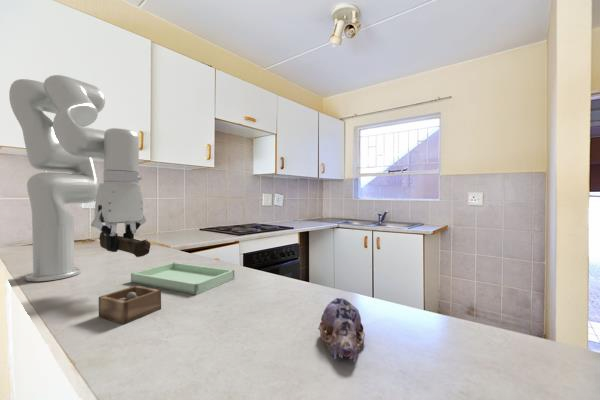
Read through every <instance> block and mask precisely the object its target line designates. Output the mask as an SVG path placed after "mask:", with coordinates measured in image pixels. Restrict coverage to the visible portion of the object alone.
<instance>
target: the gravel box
mask: <svg viewBox="0 0 600 400" xmlns="http://www.w3.org/2000/svg"><path fill="white" fill-rule="evenodd" d="M159 310H162V290H160V289H156V288H151V287H148V286H147V287H146V286H140V285H134V286H130V287H127V288H123V289H120V290H117V291H114V292H110V293H107V294H104V295H100V296H98V318H102V319H105V320H108V321H113V322H115V323H119V324H122V325H126V324H128V323H130V322H131V323H132V322H133V321H136V320H138V319H140V318H143V317H146V316H148V315H149V314H152V313H154V312H157V311H159Z"/></svg>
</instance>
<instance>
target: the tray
mask: <svg viewBox="0 0 600 400" xmlns="http://www.w3.org/2000/svg"><path fill="white" fill-rule="evenodd" d="M234 279H235V270H234V269H226V268H221V267H219V268H218V267H214V266H213V267H212V266H204V265H199V264H198V265H197V264H191V263H190V264H189V263H183V262H182V263H181V262H174V261H173V262H169V263H166V264H162V265H158V266H154V267H150V268H147V269H143V270H140V271H135V272H130V282H131V283H133V284H134V283H135V284H138V285H144V286H147V287H148V286H149V287H153V288H159V289H165V290H170V291H176V292H180V293H185V294H186V293H187V294H190V295H199V294H201V293H205V292H207V291H208V290H211V289H213V288H216V287H218V286H221V285H223V284H225V282H226V283H228V282H230V281H232V280H234Z"/></svg>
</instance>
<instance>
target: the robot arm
mask: <svg viewBox="0 0 600 400" xmlns="http://www.w3.org/2000/svg"><path fill="white" fill-rule="evenodd" d="M9 87H10V88H9V91H8V93H9V97H8V98H9V99H8V100H9V104H10V108H11V110H12V112H13V114H14V116H15V118H16V120H17V122H18V123H19V125H20V128H21V130H22V134H23V135H22V136H23V140H24V146H25V149H26V154H27V158H28V162H29V164H30V166H31V167H32V168H34V169H36V170H38V171H44V172H39V173H35V174H33V175H31V176H30V177H29V178H28V180H27V183H26V188H27V189H26V190H27V195H28V198H29V202H30V208H31V224H32V225H31V226H32V228H31V230H32V272H31V273H28V274H27V275H26V276H25V280H26V281H28V282H48V281H57V280H61V279H66V278H70V277H71V278H72V277H73V276H77V275H79V274H81V268H80V267H79V266H75V225H74V224H75V223H74V217H73V213H72V212H71V211H70V210H69V209H68V208H67V207H66V205H68V204H89V203H93V202H94V203H95V205H94V219H93V220H92V221H91V224H90V227H93V228H95V229H97V230H99V231H100V232H103V233H104V235H107V237H106V247H107V250H106V251H108V252H110V253H116V252H118V251H119V250H118V236H119V235H118V236H115V234H116V233H117V227H118V224H124V233H123V234H122V237H124V238H129V239H135V234H136V233H137V230H138V229H139V228H140V227H141V226H143V225H144V224H145V223H146V222H147V218H146V217H145V215H144V199H143V198H144V197H143V192H142V187H141V184H139V181H142V180H143V176H142V175H139V165H140V164H139V157H140V154H139V152H140V139H139V138H140V137H139V135H138V133H137V132H136V131H134V130H130V129H125V128H117V127H116V128H115V127H113V128H108V129H106V130H102V129H96V128H93V127H91V128H90V127H88V126H91V125H92V124H93V123H95V122H96V120H97V118H98V115H99V113H100V112H101V111H102V110H104V108H105V103H106V99H105V95H104V93H103V92H102V90H101V89H100V88H98V87H97V86H96V85H93V84H90V83H87V82H85V81H82V80H78V79H76V78H72V77H70V76H66V75H63V74H62V75H61V74H53V75H50V76H48V77H47V78H45V80H44V81H43V82H41V81H38V80H34V79H28V78H27V79H26V78H21V79H16V80H14V81H13V82H12V83H11V84H10V86H9ZM44 112H47V113H51V114H55V116H54V118H53V120H52V119H51V118H50V117H49V116H47V115H46V114H45V113H44ZM93 159H99V160H103V182H102V183H101V182H99V181H98V176H97V172H96V168H95V163H94V160H93ZM45 171H46V172H45ZM65 204H66V205H65ZM103 223H104V224H103Z"/></svg>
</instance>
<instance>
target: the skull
mask: <svg viewBox="0 0 600 400" xmlns="http://www.w3.org/2000/svg"><path fill="white" fill-rule="evenodd" d="M317 329H318V330H319V333H320V334H319V336H320V338H321V340H322V341H323V342H324V344H326V346H327V348H328V350H329V351H330V353H331V354H332V356H333V357H334V360H337V355H338V357H339V358H342V359H343V356H344V357H347V358H349V360H350V359H353V363H355V362H356V359H357V356H358V353H359V348H361V347H362V346H363V345H364V344H365V336H366V335H365V332H364V326H363V324H362V318H361V314H360V312H359V309H358V308H357V307H356V306H354V305H353V304H352V303H351V302H350V301H348V299H345V298H344V297H336V298H335V299H333V300H332V301H330V302H329V303H328V304H327V305H326V306H325V308H324V310H323V313H322V315H321V318H320V322H319V325H318V328H317ZM358 338H360V341H359V339H358Z"/></svg>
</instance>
